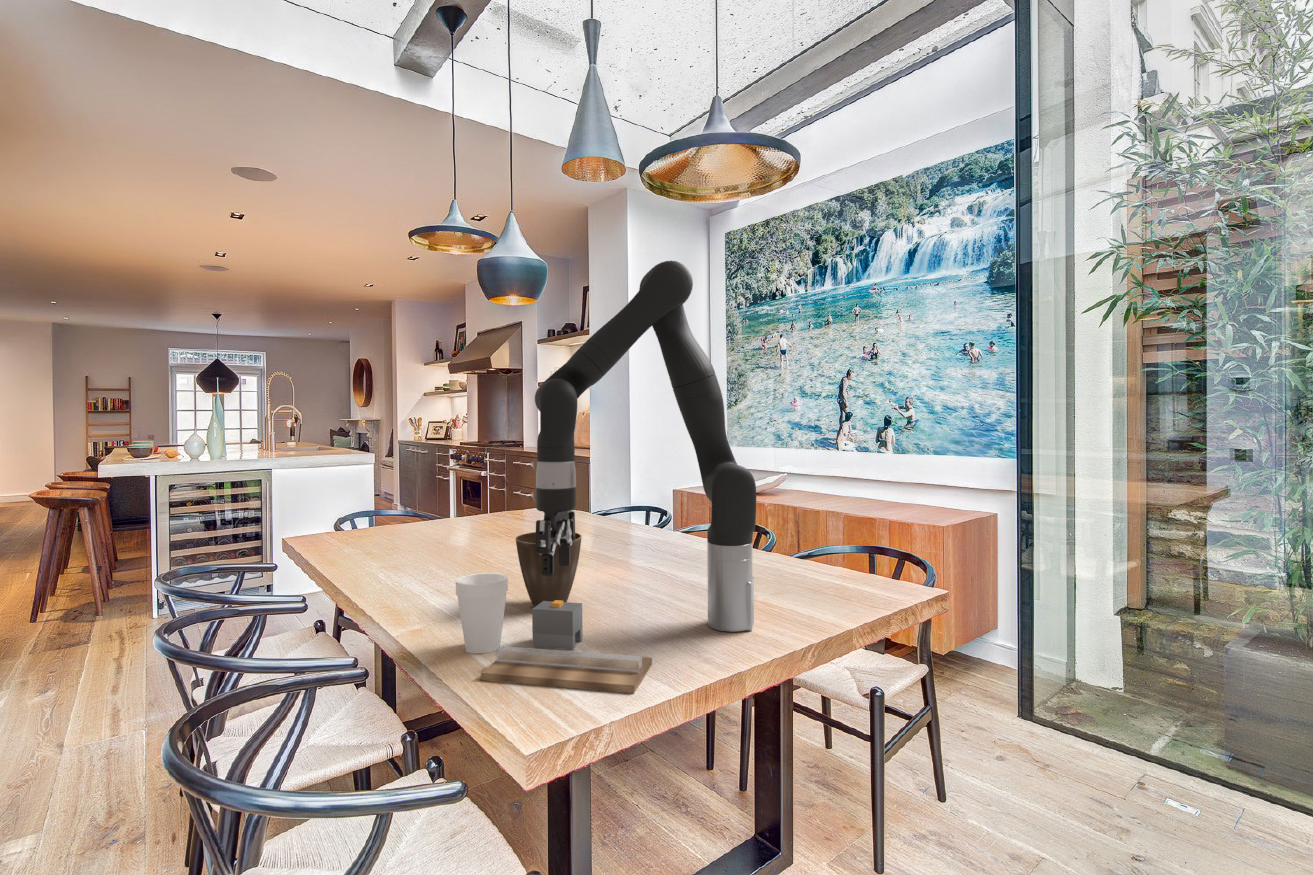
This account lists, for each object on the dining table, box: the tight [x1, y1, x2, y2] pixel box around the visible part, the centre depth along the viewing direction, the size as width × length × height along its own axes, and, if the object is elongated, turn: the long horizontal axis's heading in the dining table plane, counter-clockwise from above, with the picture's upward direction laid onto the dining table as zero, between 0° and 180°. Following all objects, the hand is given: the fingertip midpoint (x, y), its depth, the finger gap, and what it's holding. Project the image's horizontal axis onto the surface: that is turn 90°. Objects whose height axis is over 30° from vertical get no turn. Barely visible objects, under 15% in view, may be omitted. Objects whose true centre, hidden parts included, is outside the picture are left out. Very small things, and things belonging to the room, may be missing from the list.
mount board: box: [480, 656, 653, 694], centre depth 109 cm, size 26×12×1 cm, turn 77°
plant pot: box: [515, 531, 583, 608], centre depth 148 cm, size 15×15×16 cm
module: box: [531, 600, 584, 651], centre depth 123 cm, size 8×5×8 cm
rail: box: [496, 645, 643, 674], centre depth 109 cm, size 25×3×2 cm, turn 77°
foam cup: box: [455, 572, 509, 654], centre depth 121 cm, size 10×9×13 cm
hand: (556, 570), depth 123 cm, fingers open, 8 cm apart
